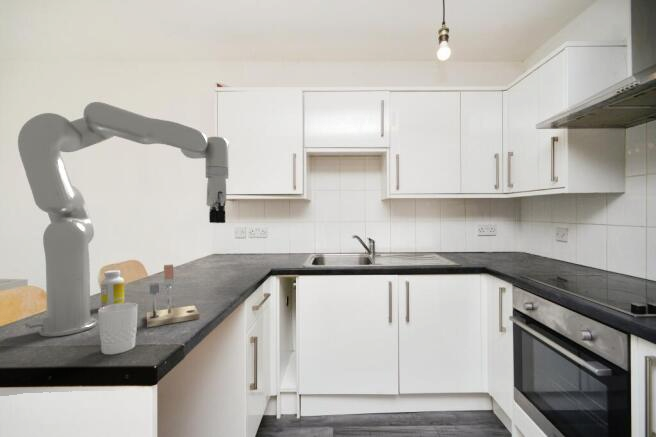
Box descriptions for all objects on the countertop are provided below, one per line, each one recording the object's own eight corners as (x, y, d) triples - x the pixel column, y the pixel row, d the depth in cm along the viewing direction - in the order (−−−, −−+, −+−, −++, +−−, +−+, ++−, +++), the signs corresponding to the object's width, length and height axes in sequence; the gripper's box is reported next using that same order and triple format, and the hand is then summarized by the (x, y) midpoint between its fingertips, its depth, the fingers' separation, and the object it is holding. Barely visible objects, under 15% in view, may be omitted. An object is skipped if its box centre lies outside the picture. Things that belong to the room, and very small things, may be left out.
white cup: (124, 340, 80) (123, 301, 80) (145, 344, 77) (145, 304, 77) (90, 352, 72) (90, 310, 72) (113, 358, 69) (112, 313, 69)
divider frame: (150, 316, 92) (149, 285, 92) (149, 314, 95) (149, 283, 95) (197, 309, 99) (197, 280, 99) (196, 307, 102) (195, 279, 102)
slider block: (164, 314, 95) (163, 266, 95) (163, 311, 98) (162, 265, 98) (175, 312, 96) (174, 265, 96) (173, 309, 99) (173, 264, 99)
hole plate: (147, 327, 89) (147, 321, 89) (146, 316, 99) (146, 311, 99) (199, 318, 96) (199, 313, 96) (194, 309, 106) (194, 304, 106)
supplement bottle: (126, 304, 114) (126, 269, 114) (121, 309, 107) (120, 272, 107) (105, 306, 112) (104, 270, 112) (98, 311, 105) (97, 273, 105)
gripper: (201, 175, 114) (201, 222, 114) (210, 169, 99) (210, 223, 99) (222, 177, 118) (222, 222, 118) (234, 171, 103) (234, 223, 103)
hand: (217, 222), depth 108 cm, fingers open, 9 cm apart
